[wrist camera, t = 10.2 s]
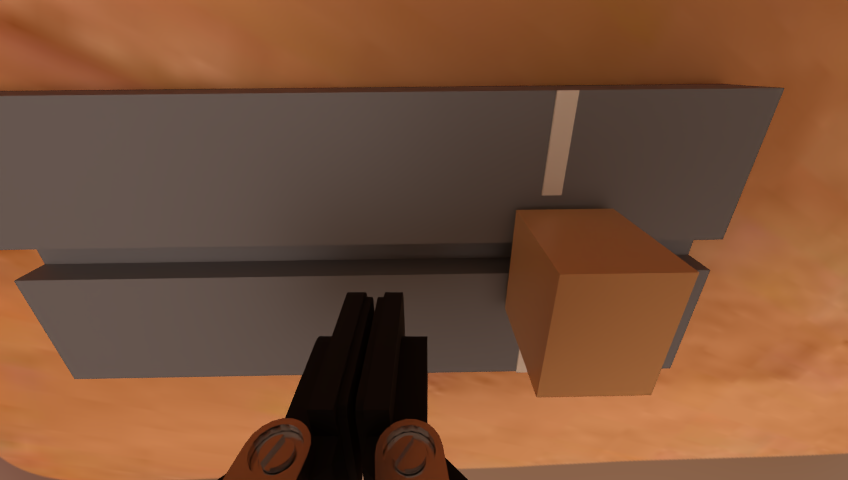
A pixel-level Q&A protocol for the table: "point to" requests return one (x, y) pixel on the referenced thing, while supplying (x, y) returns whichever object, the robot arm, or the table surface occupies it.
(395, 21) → the table surface
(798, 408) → the table surface
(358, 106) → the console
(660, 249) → the slider tab
